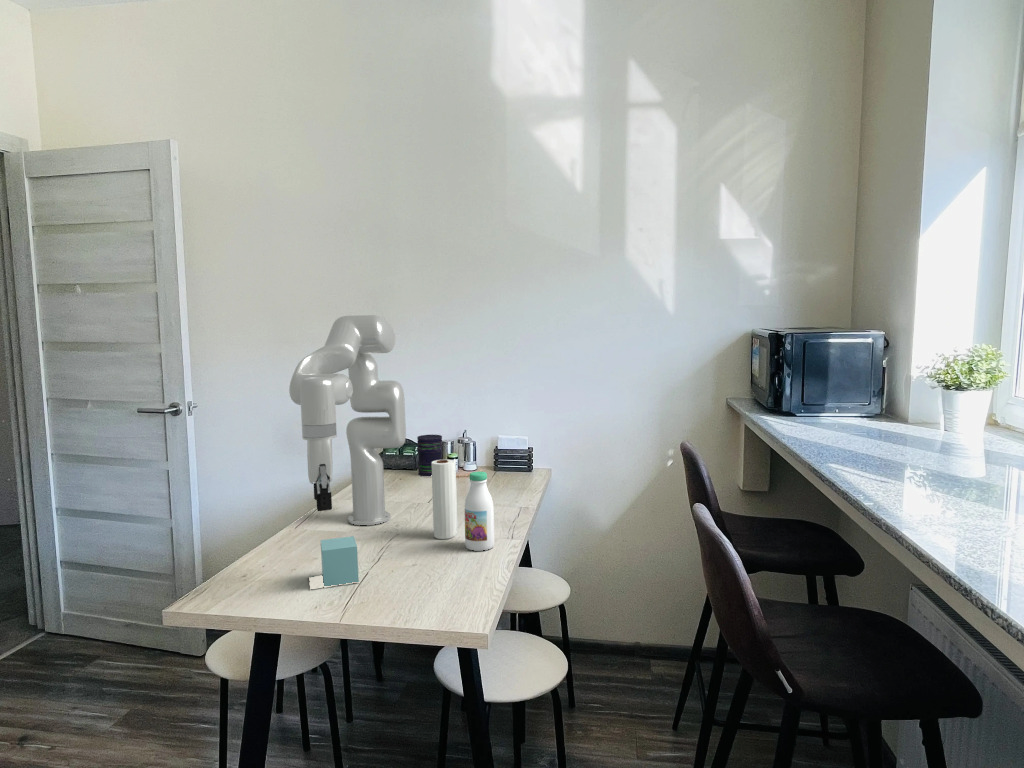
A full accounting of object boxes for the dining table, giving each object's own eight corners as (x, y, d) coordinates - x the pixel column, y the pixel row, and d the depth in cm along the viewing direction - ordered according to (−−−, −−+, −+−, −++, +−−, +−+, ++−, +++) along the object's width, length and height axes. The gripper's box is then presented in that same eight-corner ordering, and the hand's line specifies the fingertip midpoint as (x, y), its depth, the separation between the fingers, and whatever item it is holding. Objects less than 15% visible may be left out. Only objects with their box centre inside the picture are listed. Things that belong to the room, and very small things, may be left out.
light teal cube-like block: (322, 576, 155) (320, 540, 154) (355, 571, 157) (353, 536, 157) (324, 588, 148) (322, 550, 147) (358, 583, 150) (357, 546, 149)
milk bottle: (478, 540, 178) (477, 468, 177) (500, 545, 174) (498, 472, 172) (459, 547, 173) (457, 473, 171) (480, 554, 168) (479, 477, 166)
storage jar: (413, 476, 254) (412, 438, 252) (424, 470, 263) (423, 434, 262) (437, 477, 251) (435, 439, 249) (447, 471, 260) (446, 435, 258)
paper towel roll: (435, 540, 178) (433, 464, 176) (432, 534, 184) (429, 459, 182) (461, 538, 180) (459, 462, 178) (457, 531, 186) (455, 457, 184)
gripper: (300, 426, 155) (304, 497, 157) (303, 438, 139) (307, 516, 141) (333, 424, 158) (336, 493, 159) (340, 436, 142) (343, 512, 143)
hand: (322, 504), depth 150 cm, fingers open, 9 cm apart
